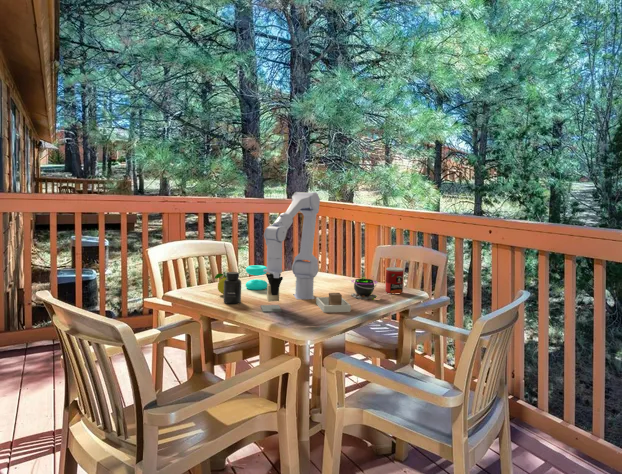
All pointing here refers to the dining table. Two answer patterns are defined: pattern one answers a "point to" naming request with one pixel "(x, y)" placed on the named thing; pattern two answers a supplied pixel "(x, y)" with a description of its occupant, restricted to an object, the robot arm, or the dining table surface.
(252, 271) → the donuts
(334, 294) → the walnut block
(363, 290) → the toy cauldron
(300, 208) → the robot arm
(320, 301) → the parts bin
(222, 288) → the pear
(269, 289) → the birch block
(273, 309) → the rubber mat
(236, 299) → the supplement bottle
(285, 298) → the dining table surface
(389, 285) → the canned food
